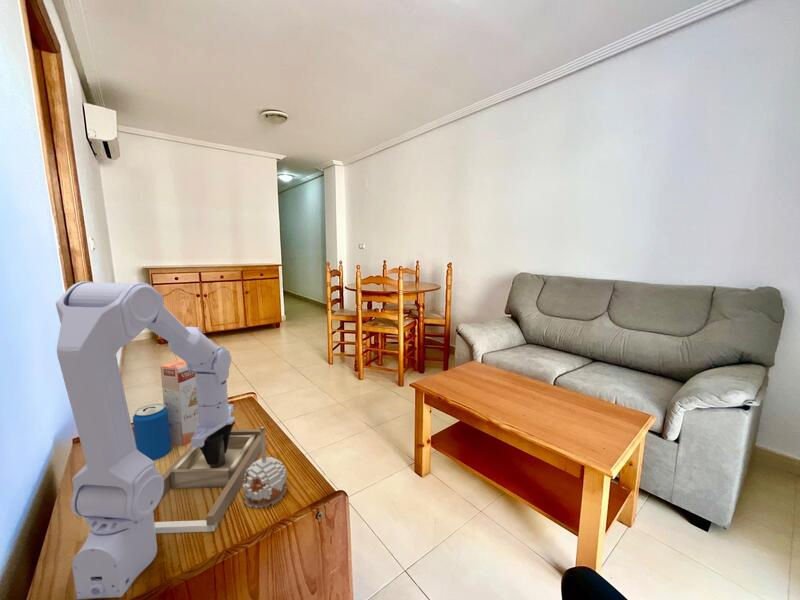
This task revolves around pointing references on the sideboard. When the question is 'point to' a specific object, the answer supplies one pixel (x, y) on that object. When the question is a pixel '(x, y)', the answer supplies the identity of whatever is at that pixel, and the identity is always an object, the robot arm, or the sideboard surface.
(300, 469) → the sideboard surface
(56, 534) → the sideboard surface
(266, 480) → the decorative ornament
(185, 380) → the cracker box
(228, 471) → the beige shallow open box
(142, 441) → the beverage can
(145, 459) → the robot arm
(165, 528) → the bay
